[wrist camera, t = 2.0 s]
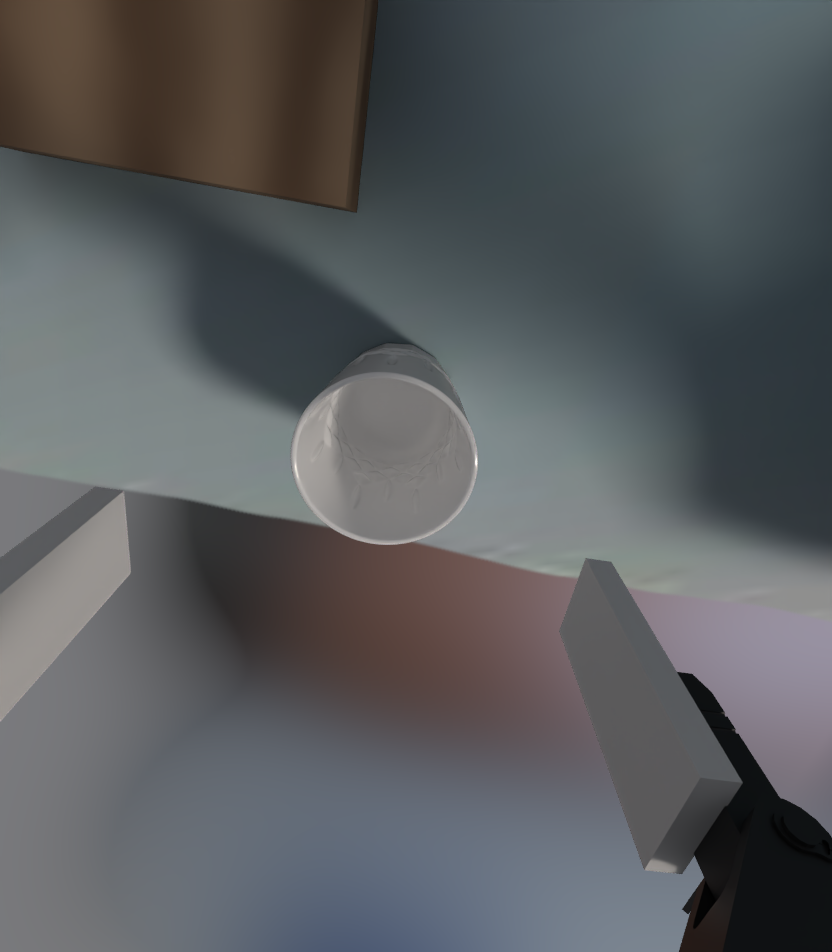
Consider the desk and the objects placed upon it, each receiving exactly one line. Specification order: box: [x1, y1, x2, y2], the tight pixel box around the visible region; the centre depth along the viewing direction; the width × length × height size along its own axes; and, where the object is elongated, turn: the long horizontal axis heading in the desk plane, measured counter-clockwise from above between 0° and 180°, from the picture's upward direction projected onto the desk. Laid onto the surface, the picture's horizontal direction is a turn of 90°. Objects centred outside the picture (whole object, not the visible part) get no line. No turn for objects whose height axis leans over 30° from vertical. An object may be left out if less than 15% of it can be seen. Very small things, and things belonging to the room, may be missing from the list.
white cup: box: [291, 343, 478, 545], centre depth 26 cm, size 8×8×10 cm
